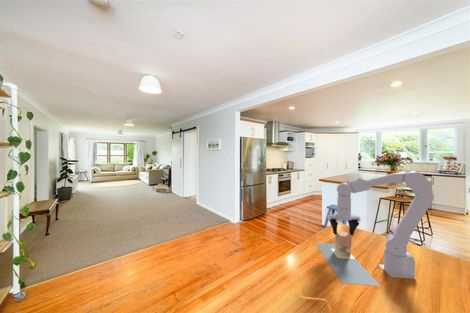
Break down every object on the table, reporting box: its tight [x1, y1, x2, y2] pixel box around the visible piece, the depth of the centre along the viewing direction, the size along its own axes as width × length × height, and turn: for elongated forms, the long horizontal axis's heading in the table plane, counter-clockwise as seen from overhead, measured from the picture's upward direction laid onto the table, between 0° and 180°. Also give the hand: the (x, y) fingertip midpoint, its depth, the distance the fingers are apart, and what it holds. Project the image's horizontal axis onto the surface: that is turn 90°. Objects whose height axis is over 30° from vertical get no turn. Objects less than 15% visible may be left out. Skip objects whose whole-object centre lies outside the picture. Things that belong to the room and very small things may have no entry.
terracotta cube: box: [334, 231, 352, 248], centre depth 89 cm, size 5×5×5 cm
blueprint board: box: [315, 242, 381, 287], centre depth 84 cm, size 14×30×1 cm, turn 174°
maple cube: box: [334, 241, 352, 257], centre depth 89 cm, size 5×5×5 cm
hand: (343, 234), depth 89 cm, fingers open, 7 cm apart
